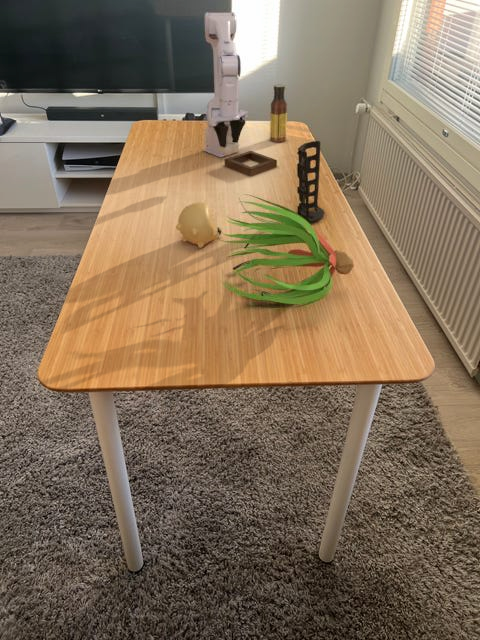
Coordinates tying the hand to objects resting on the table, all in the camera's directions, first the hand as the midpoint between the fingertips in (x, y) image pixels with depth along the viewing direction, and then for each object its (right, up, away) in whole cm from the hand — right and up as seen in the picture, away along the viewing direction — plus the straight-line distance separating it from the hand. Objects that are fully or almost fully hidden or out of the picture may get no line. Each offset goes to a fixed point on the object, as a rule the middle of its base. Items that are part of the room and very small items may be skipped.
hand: (228, 144), depth 164 cm
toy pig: (-7, -36, -30) cm, 47 cm away
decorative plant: (+13, -51, -49) cm, 72 cm away
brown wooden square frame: (+7, -3, +13) cm, 15 cm away
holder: (+23, -26, -17) cm, 39 cm away
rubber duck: (0, -3, +2) cm, 3 cm away
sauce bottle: (+18, +14, +36) cm, 43 cm away
